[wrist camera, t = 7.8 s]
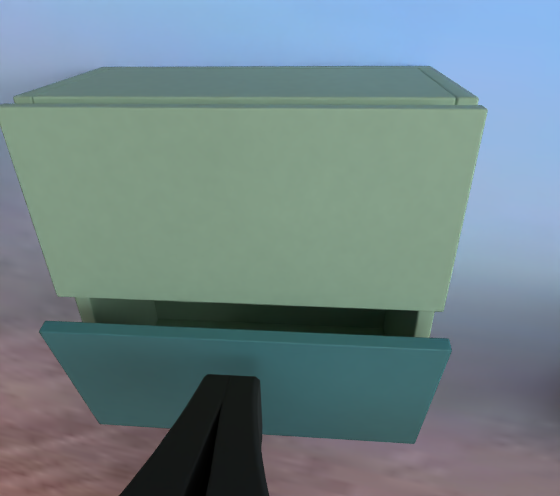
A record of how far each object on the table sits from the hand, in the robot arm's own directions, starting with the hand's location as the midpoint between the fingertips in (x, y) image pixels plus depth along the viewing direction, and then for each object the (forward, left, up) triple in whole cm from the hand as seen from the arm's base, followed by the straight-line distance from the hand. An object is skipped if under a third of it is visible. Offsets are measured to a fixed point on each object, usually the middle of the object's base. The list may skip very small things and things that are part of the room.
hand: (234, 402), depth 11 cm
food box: (+1, +1, -8) cm, 8 cm away
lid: (-1, -1, -2) cm, 2 cm away
